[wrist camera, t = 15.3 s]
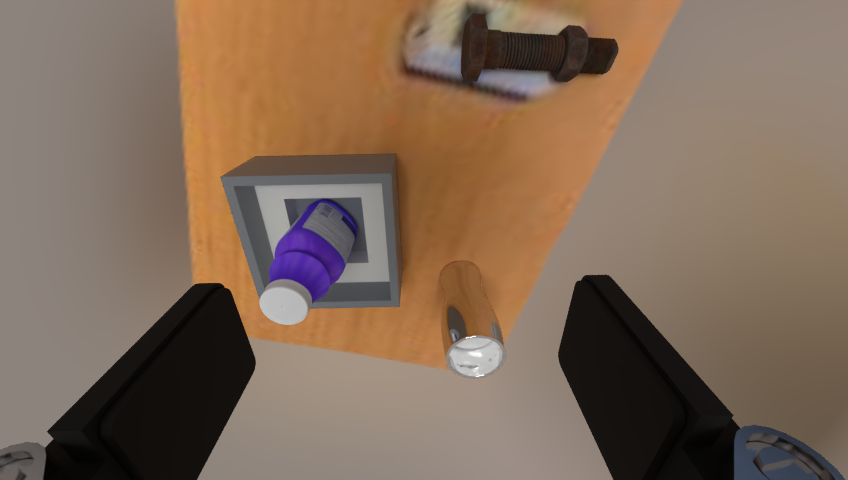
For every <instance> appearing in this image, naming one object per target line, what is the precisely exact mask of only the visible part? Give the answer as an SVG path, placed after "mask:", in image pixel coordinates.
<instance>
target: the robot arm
mask: <svg viewBox="0 0 848 480" xmlns="http://www.w3.org/2000/svg"><path fill="white" fill-rule="evenodd" d="M558 357H559V363H560V366H561V368H562V370H563V372H564V374H565V376H566V378H567V381H568V383H569V385H570V387H571V389H572V392H573V394H574V396H575V398H576V400H577V402H578V404H579V407H580V409H581V411H582V413H583V415H584V417H585V419H586V422H587V424H588V426H589V428H590V430H591V432H592V435H593V436H594V439H595V441H596V443H597V445H598V447H599V450H600V452H601V454H602V456H603V458H604V460H605V462H606V465H607V467H608V469H609V471H610V473H611V475H612V477H613V480H845V479H844V477H843V476H842V475H841V474H840V472H839V471H838V470H837V469H836V468H835V467H834V466H833V465H832V464H831V463H830V462H828V461H827V460H826V459H825V458H824V457H823V456H822V455H821V454H819V453H818V452H816V451H815V450H813V449H812V448H811V447H809V446H808V445H806V444H805V443H803V442H801V441H799V440H798V439H796V438H794V437H792V436H790V435H788V434H786V433H784V432H781V431H778V430H775V429H772V428H770V427H764V426H758V425H751V426H744V427H742V428H741V429H740V427H739V426H738V425H737V424H736V423H735V422H734V421H733V419H732V417H733V414H732V413H731V412H730V411H729V410H728V409H727V408H726V406H725V405H724V404H723V403H722V402H721V401H720V400H719V399H718V397H717V396H716V395H715V394H714V393H713V392H712V391H711V390H710V389H709V387H708V386H707V385H706V384H705V383H704V382H703V381H702V379H701V378H700V377H699V376H698V375H697V374H696V373H695V372H694V370H693V369H692V368H691V367H690V366H689V365H688V364H687V363H686V361H685V360H684V359H683V358H682V357H681V356H680V355H679V353H678V352H677V351H676V350H675V349H674V348H673V347H672V346H671V345H670V343H669V342H668V341H667V340H666V339H665V338H664V337H663V336H662V334H661V333H660V332H659V331H658V330H657V329H656V328H655V327H654V325H652V323H651V322H650V321H649V320H648V319H647V317H646V316H645V315H644V314H643V313H642V312H641V311H640V309H639V308H638V307H637V306H636V305H635V304H634V303H633V302H632V300H631V299H630V298H629V297H628V296H627V295H626V294H625V293H624V291H623V290H622V289H621V288H620V287H619V286H618V285H617V284H616V283H615V281H614V280H613V279H612V278H611V277H610V276H609V275H586V276H584V277H583V278H582V280H581V281H577V282H576V284H575V287H574V291H573V295H572V299H571V303H570V307H569V311H568V315H567V319H566V323H565V327H564V332H563V336H562V340H561V344H560V348H559V352H558ZM255 365H256V362H255V357H254V354H253V351H252V348H251V346H250V343H249V340H248V337H247V334H246V332H245V329H244V326H243V324H242V321H241V318H240V315H239V313H238V310H237V307H236V304H235V302H234V299H233V296H232V293H231V291H230V290H229V289H227V288H225V287H224V286H223V285H222V284H220V283H199V284H195V285H194V286H192V287H191V288H190V289H189V290H188V291H187V292H186V293H185V294H184V295H183V296H182V297H181V298H180V299H179V300H178V301H177V302H176V303H175V304H174V305H173V306H172V307H171V308H170V309H169V310H168V311H167V312H166V313H165V314H164V315H163V316H162V317H161V318H160V319H159V320H158V321H157V322H156V323H155V324H154V325H153V326H152V327H151V328H150V329H149V330H148V331H147V332H146V333H145V334H144V335H143V336H142V337H141V338H140V339H139V340H138V341H137V342H136V343H135V344H134V345H133V346H132V347H131V348H130V349H129V350H128V351H127V352H126V353H125V354H124V355H123V356H122V357H121V358H120V359H119V360H118V361H117V362H116V363H115V364H114V365H113V366H112V367H111V368H110V369H109V370H108V371H107V372H106V373H105V374H104V375H103V376H102V377H101V378H100V379H99V380H98V381H97V382H96V383H95V384H94V385H93V386H92V387H91V388H90V389H89V390H88V391H87V392H86V393H85V394H84V395H83V396H82V397H81V398H80V399H79V400H78V401H77V402H76V403H75V404H74V405H73V406H72V407H71V408H70V409H69V410H68V411H67V412H66V413H65V414H64V415H63V416H62V417H61V418H60V419H59V420H58V421H57V422H56V423H55V424H54V425H53V426H52V427H51V428H50V429H49V430H48V431H47V432H48V433H49V434H50V435H51V436H52V437H53V440H52V441H51V442H50V443H49V444H48V445H47V446H46V448H45V447H43V446H41V445H40V444H39V443H31V442H25V443H21V444H16V445H12V446H9V447H6V448H4V449H1V450H0V480H197V478H198V476H199V474H200V473H201V471H202V469H203V467H204V465H205V463H206V461H207V459H208V457H209V456H210V454H211V452H212V450H213V448H214V446H215V444H216V442H217V441H218V439H219V437H220V435H221V433H222V431H223V429H224V427H225V425H226V423H227V422H228V420H229V418H230V416H231V414H232V412H233V410H234V408H235V406H236V404H237V403H238V401H239V399H240V397H241V395H242V393H243V391H244V389H245V388H246V385H247V384H248V382H249V380H250V378H251V376H252V374H253V372H254V369H255Z"/></svg>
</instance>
